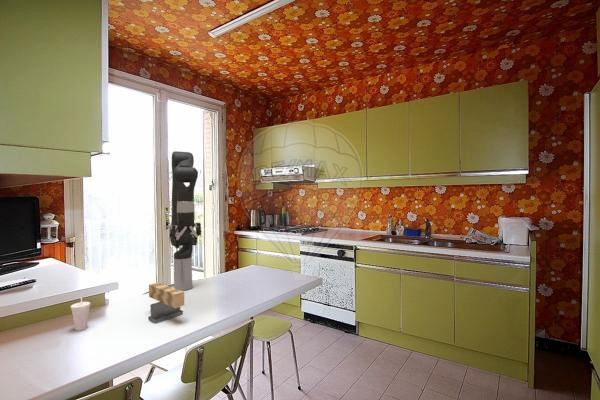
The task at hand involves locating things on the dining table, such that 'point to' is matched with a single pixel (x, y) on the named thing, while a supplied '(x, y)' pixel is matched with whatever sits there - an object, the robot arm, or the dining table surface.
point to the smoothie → (80, 314)
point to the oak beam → (166, 294)
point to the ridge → (163, 312)
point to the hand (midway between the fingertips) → (186, 246)
